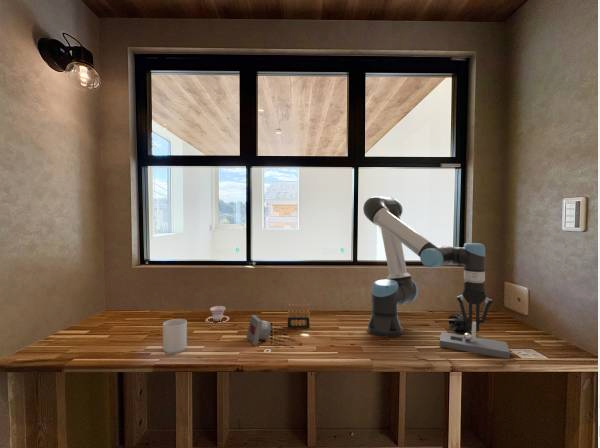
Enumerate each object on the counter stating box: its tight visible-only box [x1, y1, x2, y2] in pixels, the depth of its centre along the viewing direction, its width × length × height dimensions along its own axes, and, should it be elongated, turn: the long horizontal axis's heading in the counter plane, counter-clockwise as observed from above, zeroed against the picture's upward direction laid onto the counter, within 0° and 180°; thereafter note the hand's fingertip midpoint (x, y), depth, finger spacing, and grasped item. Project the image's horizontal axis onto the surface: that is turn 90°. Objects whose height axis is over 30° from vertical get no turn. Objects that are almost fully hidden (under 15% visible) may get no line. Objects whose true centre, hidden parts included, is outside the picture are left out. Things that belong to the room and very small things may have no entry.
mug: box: [162, 318, 188, 355], centre depth 125 cm, size 12×9×11 cm
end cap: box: [448, 312, 471, 335], centre depth 147 cm, size 10×7×7 cm
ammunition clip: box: [286, 302, 311, 329], centre depth 150 cm, size 11×2×12 cm, turn 89°
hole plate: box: [439, 331, 511, 360], centre depth 127 cm, size 24×11×2 cm, turn 62°
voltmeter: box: [246, 314, 297, 349], centre depth 130 cm, size 27×11×10 cm, turn 62°
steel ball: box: [463, 332, 472, 341], centre depth 128 cm, size 3×3×3 cm
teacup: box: [204, 305, 230, 324], centre depth 161 cm, size 12×12×6 cm
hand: (473, 338), depth 127 cm, fingers closed
